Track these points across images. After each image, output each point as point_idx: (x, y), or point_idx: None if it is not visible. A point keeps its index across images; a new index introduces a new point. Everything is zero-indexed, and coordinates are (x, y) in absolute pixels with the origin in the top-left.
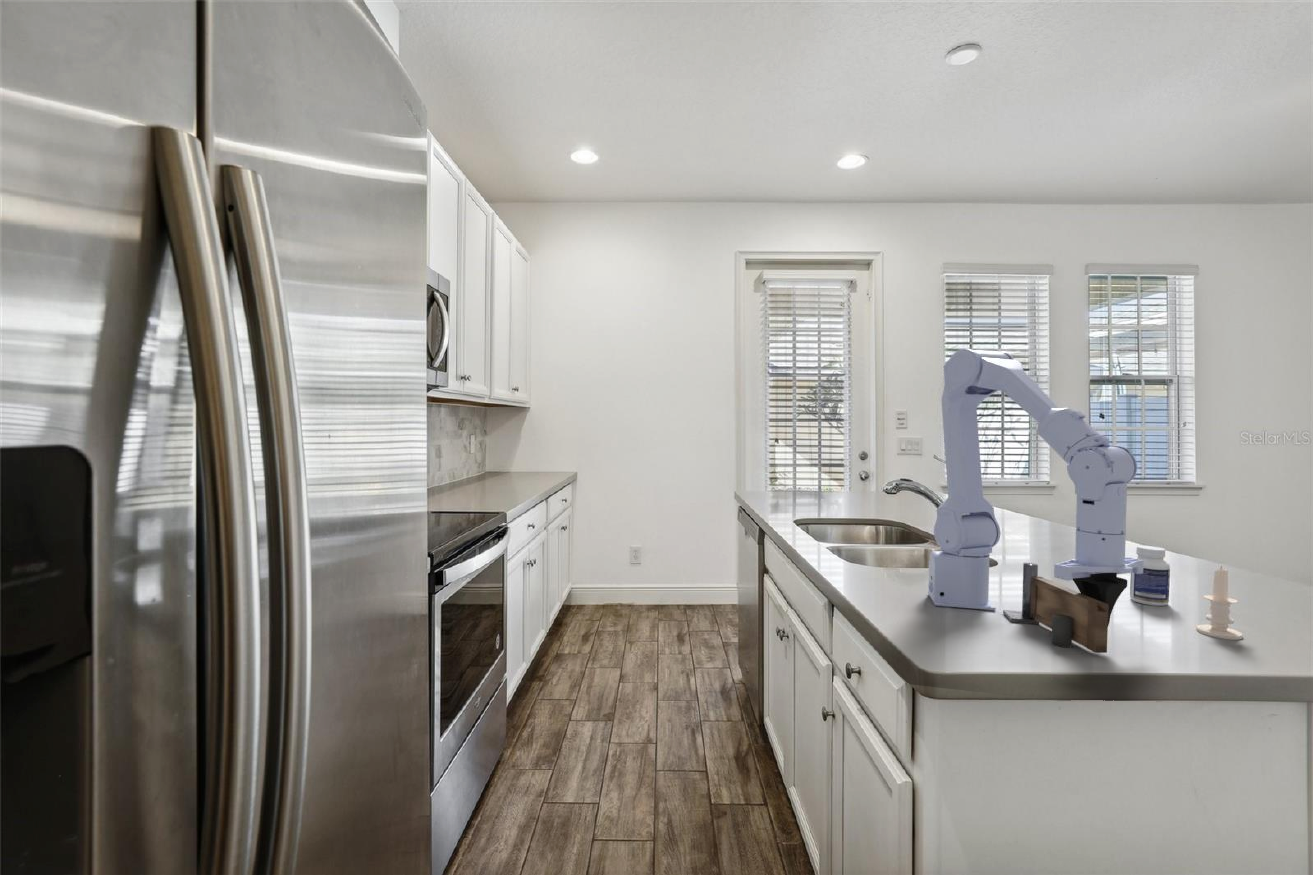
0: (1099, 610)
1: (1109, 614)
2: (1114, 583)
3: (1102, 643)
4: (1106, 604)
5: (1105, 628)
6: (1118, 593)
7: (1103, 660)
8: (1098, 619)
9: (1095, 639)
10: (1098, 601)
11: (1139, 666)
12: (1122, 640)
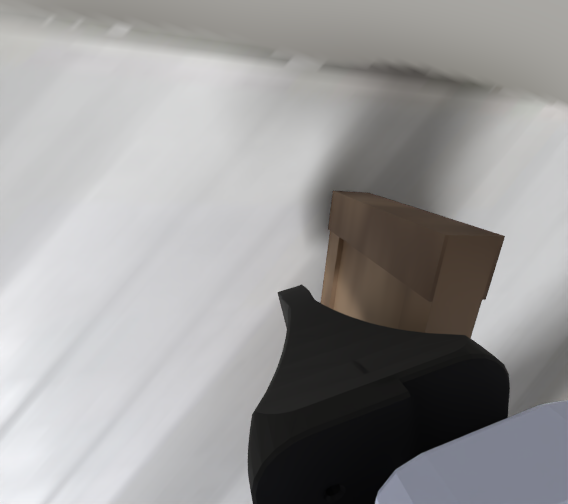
0: (464, 225)
1: (298, 308)
2: (431, 376)
3: (360, 196)
4: (456, 234)
5: (381, 206)
6: (301, 369)
7: (344, 176)
8: (432, 216)
9: (390, 200)
10: (447, 289)
11: (272, 120)
12: (147, 340)
